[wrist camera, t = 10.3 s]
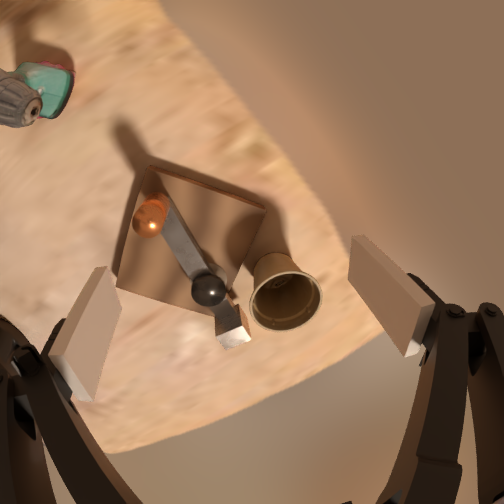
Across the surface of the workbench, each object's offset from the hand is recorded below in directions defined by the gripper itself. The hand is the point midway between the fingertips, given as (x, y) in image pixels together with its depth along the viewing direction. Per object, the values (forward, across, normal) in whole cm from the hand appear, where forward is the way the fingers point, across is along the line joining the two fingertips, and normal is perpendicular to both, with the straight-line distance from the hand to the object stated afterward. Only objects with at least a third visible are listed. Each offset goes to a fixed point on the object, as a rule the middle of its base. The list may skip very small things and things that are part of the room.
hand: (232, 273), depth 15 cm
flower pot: (+25, +7, -15) cm, 30 cm away
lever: (+22, -4, -11) cm, 25 cm away
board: (+25, -6, -9) cm, 27 cm away
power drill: (+25, -20, +15) cm, 35 cm away
